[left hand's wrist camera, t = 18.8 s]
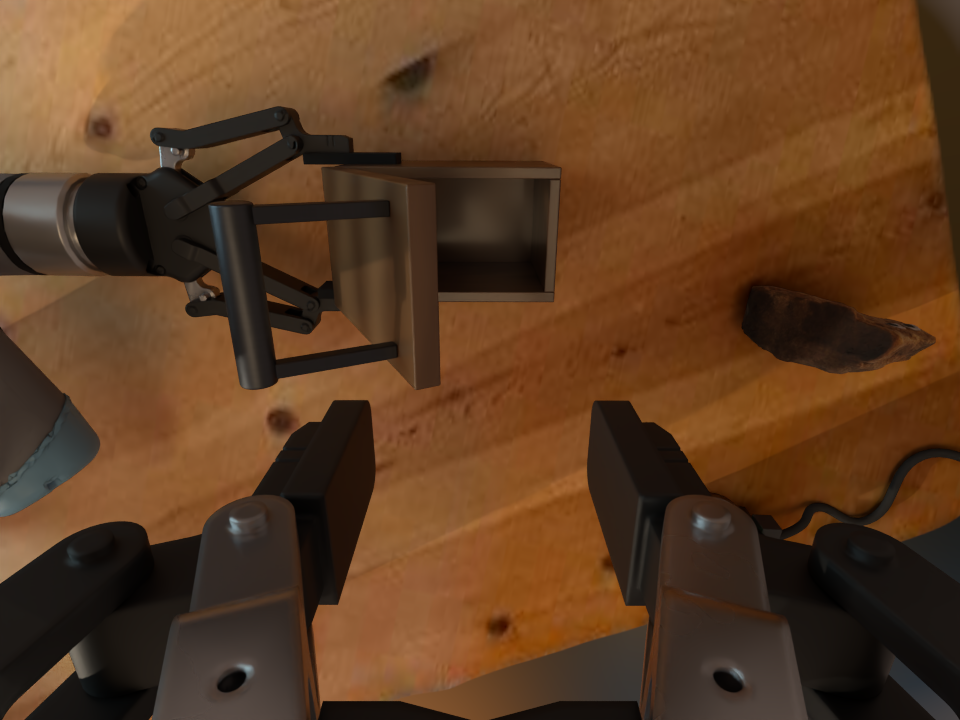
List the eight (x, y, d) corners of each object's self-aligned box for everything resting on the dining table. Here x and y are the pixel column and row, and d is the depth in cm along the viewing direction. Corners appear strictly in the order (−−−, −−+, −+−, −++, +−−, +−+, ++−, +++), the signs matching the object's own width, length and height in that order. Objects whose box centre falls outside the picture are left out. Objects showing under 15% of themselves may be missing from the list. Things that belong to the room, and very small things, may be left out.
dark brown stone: (870, 301, 50) (968, 342, 40) (838, 360, 52) (924, 413, 42) (750, 270, 49) (819, 304, 39) (722, 332, 51) (782, 379, 41)
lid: (436, 182, 22) (207, 190, 18) (441, 385, 25) (249, 425, 22) (341, 166, 35) (195, 169, 31) (353, 303, 38) (222, 319, 35)
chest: (543, 161, 45) (561, 167, 35) (538, 268, 49) (554, 302, 39) (366, 160, 45) (333, 166, 35) (373, 267, 49) (346, 301, 39)
